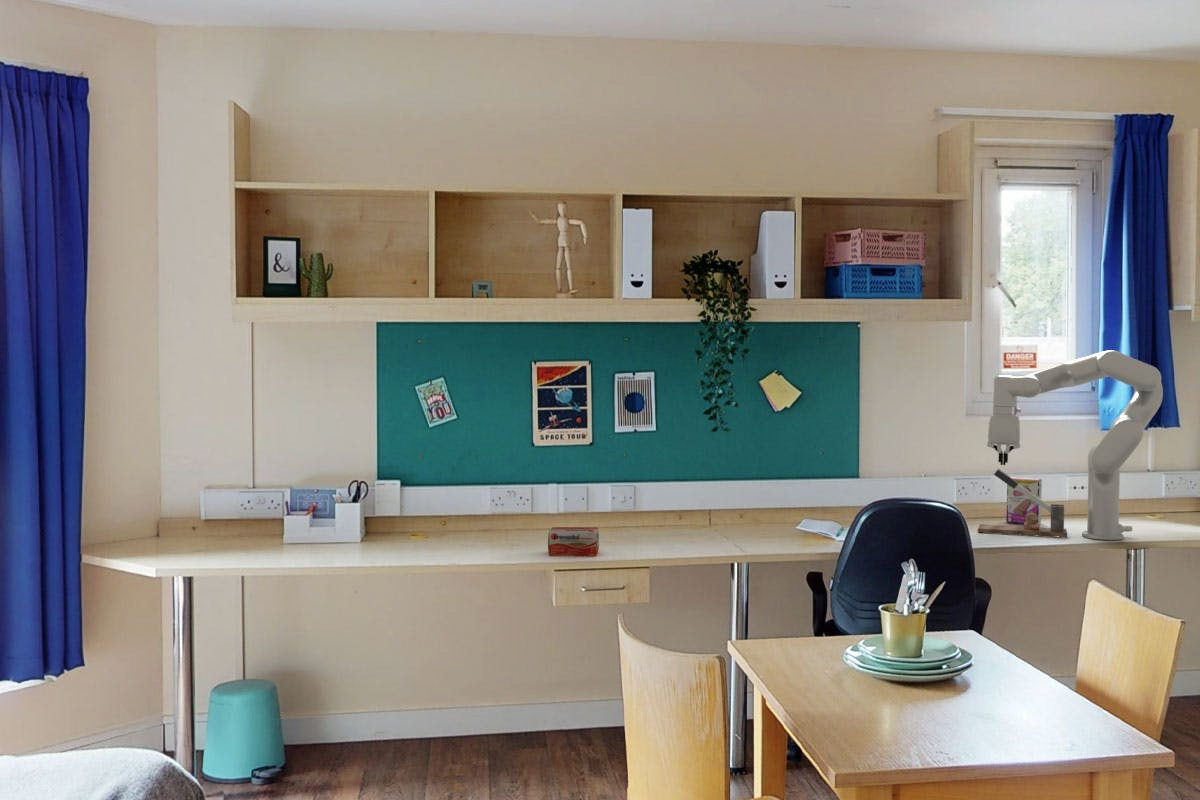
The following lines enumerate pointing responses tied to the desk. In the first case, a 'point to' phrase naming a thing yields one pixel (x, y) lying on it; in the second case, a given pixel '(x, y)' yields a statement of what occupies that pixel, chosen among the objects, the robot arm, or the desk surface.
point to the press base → (1019, 530)
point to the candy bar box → (1023, 500)
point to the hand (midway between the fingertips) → (1002, 464)
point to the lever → (1021, 489)
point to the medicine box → (573, 541)
